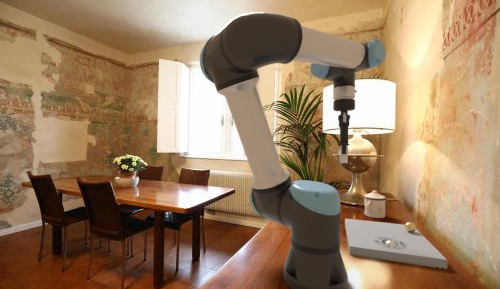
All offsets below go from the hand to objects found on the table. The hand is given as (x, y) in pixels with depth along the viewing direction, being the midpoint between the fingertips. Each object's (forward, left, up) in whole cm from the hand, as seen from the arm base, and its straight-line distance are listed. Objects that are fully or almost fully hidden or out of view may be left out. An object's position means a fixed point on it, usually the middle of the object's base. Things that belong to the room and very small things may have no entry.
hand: (343, 162), depth 86 cm
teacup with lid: (+28, -14, -27) cm, 41 cm away
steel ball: (-10, -13, -25) cm, 30 cm away
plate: (-3, -13, -26) cm, 30 cm away
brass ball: (+3, -22, -22) cm, 31 cm away
